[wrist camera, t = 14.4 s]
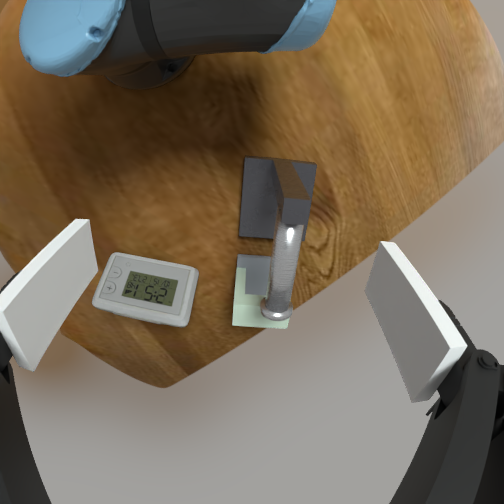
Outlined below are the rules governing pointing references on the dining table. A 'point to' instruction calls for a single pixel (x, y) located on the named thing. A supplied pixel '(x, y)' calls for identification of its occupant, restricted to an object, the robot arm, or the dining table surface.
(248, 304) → the bracket
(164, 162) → the dining table surface
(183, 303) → the digital clock
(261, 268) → the coaster
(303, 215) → the stand
